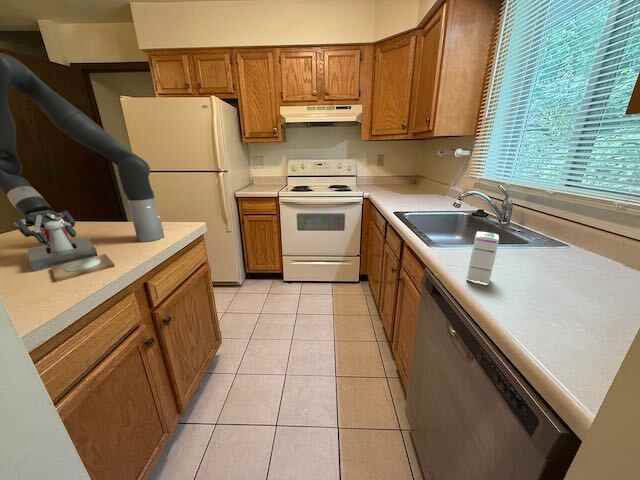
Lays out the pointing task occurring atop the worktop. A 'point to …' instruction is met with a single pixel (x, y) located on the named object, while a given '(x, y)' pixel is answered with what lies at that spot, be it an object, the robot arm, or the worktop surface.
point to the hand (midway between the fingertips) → (60, 239)
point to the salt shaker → (57, 237)
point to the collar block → (60, 254)
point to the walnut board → (81, 267)
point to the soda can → (46, 233)
